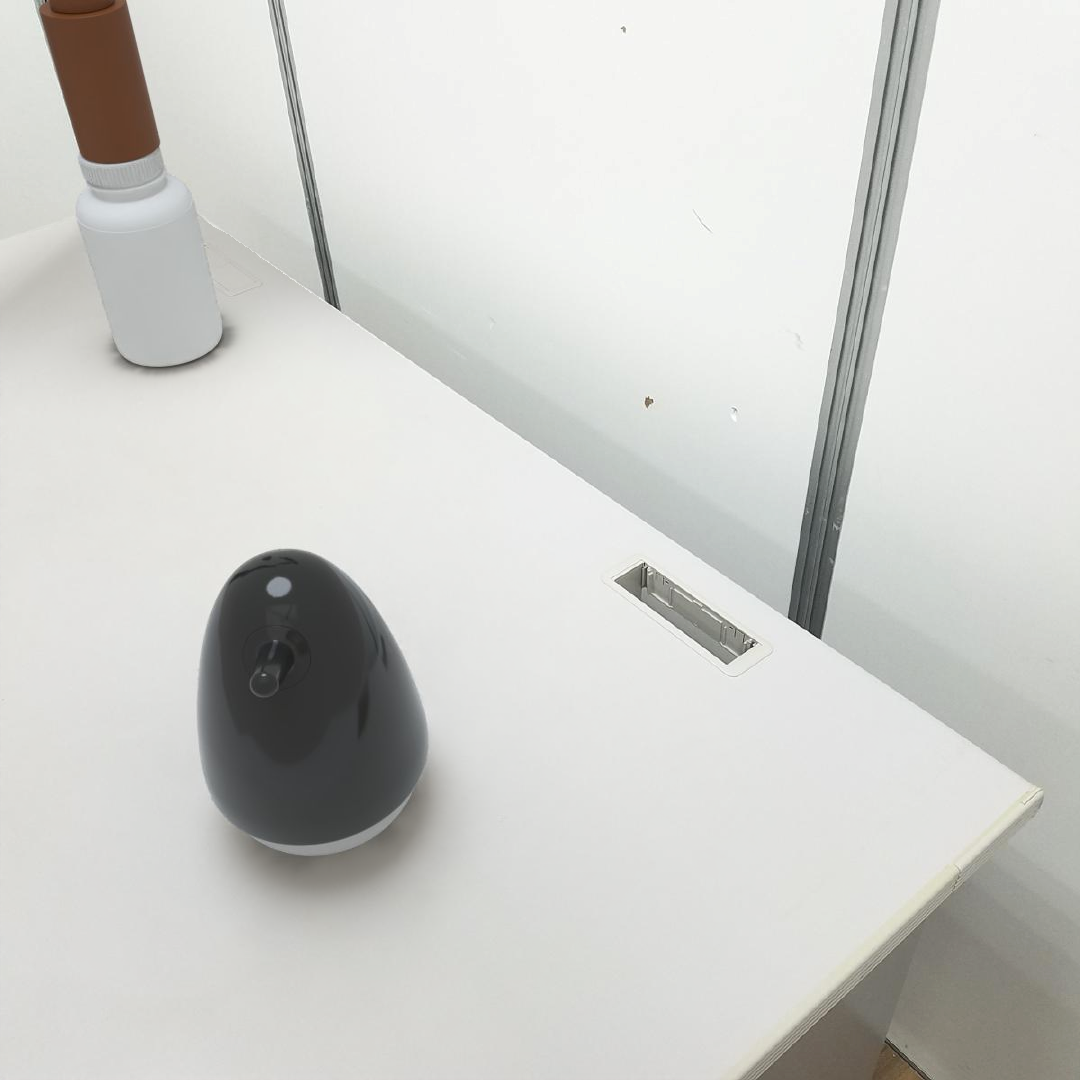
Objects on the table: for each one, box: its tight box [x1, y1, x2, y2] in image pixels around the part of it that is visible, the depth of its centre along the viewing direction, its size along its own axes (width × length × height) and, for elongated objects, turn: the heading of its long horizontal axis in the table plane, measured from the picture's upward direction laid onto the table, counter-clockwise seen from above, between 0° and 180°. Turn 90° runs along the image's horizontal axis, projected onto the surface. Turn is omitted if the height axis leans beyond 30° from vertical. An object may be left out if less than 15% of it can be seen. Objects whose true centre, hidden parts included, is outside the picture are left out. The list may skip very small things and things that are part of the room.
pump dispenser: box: [196, 548, 430, 857], centre depth 50 cm, size 10×10×15 cm
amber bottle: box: [38, 0, 161, 163], centre depth 72 cm, size 5×5×12 cm
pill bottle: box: [75, 146, 223, 368], centre depth 81 cm, size 8×8×15 cm
